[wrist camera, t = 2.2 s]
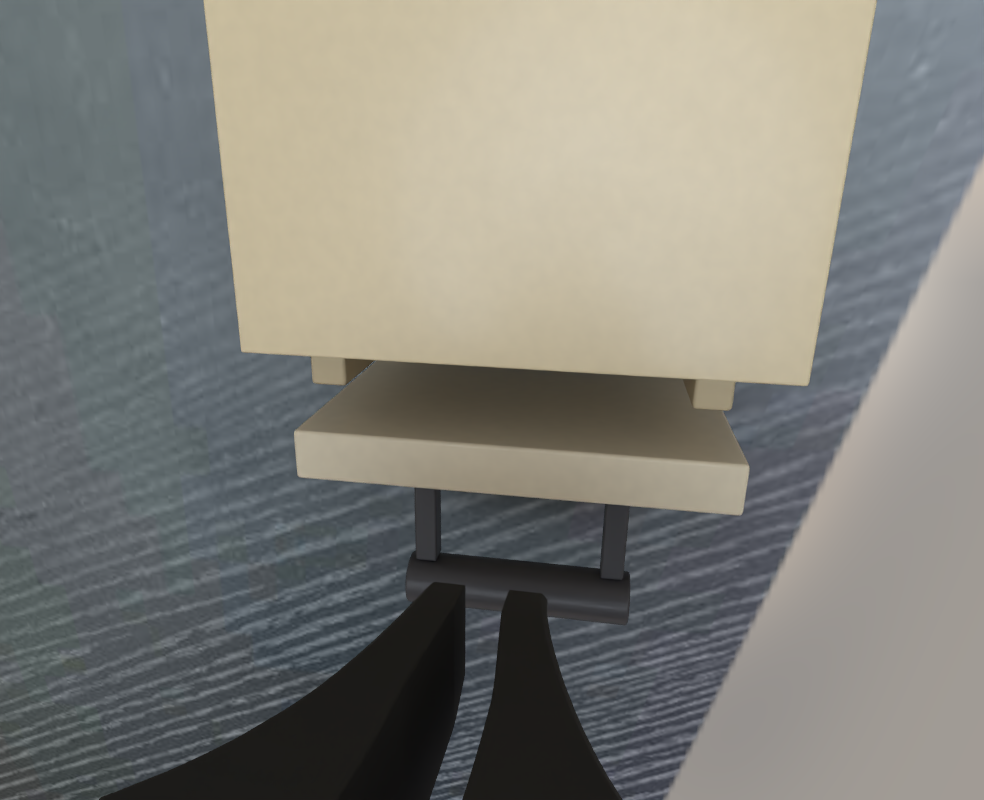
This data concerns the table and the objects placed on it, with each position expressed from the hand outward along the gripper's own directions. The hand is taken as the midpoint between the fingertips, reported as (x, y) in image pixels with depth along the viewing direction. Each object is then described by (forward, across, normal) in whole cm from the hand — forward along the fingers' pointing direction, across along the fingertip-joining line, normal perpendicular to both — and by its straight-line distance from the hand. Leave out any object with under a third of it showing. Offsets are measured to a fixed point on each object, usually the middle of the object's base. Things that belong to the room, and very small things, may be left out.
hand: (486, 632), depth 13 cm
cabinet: (+10, 0, -11) cm, 15 cm away
